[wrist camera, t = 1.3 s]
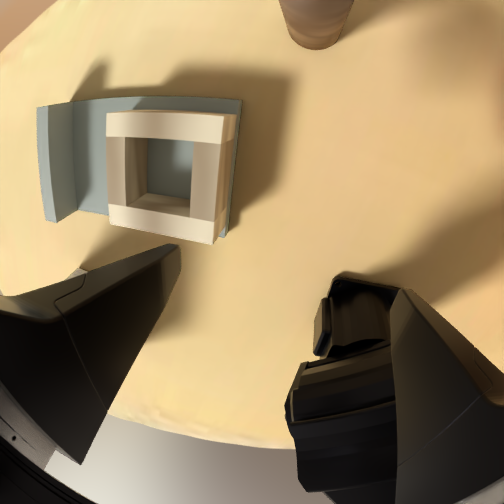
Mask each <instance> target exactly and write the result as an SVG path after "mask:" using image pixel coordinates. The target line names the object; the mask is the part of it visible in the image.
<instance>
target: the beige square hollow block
mask: <svg viewBox="0 0 504 504" xmlns="http://www.w3.org/2000/svg"><path fill="white" fill-rule="evenodd" d="M236 118H237V115H235V114H225V113H214V112H200V111H182V110H125V111H118V112H111V113H107V115H106V172H107V193H108V207H109V219H110V224H112V225H117V226H122V227H127V228H132V229H136V230H141V231H146V232H151V233H156V234H161V235H166V236H171V237H176V238H180V239H185V240H190V241H195V242H200V243H205V244H210V245H213V244H214V242H215V241H216V239H217V238H218V236H219V235H220V233H221V232H222V230H223V229H224V227H225V222H226V212H227V201H228V191H229V181H230V171H231V162H232V153H233V144H234V135H235V126H236ZM148 138H158V139H173V140H185V141H194V149H193V163H192V180H191V200H190V199H184V198H177V197H171V196H164V195H158V194H151V193H147V152H148Z"/></svg>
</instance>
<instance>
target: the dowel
mask: <svg viewBox="0 0 504 504" xmlns="http://www.w3.org/2000/svg"><path fill="white" fill-rule="evenodd" d="M353 2H354V0H279V3H280V6H281V9H282V12H283V15H284V18H285V21H286V25H287V28H288V31H289V34H290V36H291V38H292V39H293V40H294V41H295V42H296V43H297V44H298V45H300V46H302V47H304V48H307V49H311V50H322V49H326V48H328V47H330V46H332V45H333V44H334V43H335V42H336V41H337V39H338V37H339V35H340V33H341V30H342V28H343V25H344V23H345V21H346V18H347V16H348V13H349V11H350V9H351V6H352V4H353Z"/></svg>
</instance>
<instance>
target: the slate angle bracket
mask: <svg viewBox="0 0 504 504" xmlns="http://www.w3.org/2000/svg"><path fill="white" fill-rule="evenodd" d="M241 108H242V100H234V99H222V98H208V97H186V96H140V97H118V98H104V99H93V100H83V101H75V102H67V103H61V104H54V105H48V106H43V107H38V108H37V148H38V163H39V174H40V184H41V192H42V199H43V206H44V213H45V218H46V220H47V221H51V222H55V223H57V222H59V221H61V220H62V219H64V218H65V217H67V216H68V215H70V214H72V213H73V212H75V211H77V210H81V211H87V212H92V213H98V214H103V215H108V216H109V207H108V193H107V172H106V115H107V113H111V112H118V111H125V110H182V111H200V112H214V113H225V114H235V115H237V118H236V126H235V135H234V144H233V153H232V162H231V171H230V181H229V191H228V201H227V212H226V222H225V227H224V229H223V230H222V232H221V233H220V235H219V236H218V237H222V238H225V236H226V235H227V233H228V226H229V216H230V206H231V196H232V186H233V177H234V168H235V159H236V150H237V141H238V133H239V124H240V116H241ZM193 149H194V141H185V140H173V139H158V138H148V152H147V193H151V194H158V195H164V196H171V197H177V198H184V199H190V200H191V180H192V163H193Z"/></svg>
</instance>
